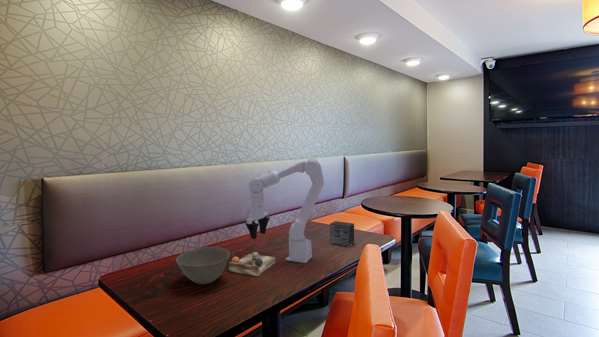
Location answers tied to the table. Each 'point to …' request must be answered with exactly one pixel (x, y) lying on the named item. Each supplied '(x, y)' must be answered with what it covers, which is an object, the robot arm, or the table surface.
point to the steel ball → (255, 255)
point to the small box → (342, 233)
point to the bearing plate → (251, 265)
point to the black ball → (258, 262)
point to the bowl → (203, 263)
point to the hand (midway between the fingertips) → (258, 236)
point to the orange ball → (235, 259)
